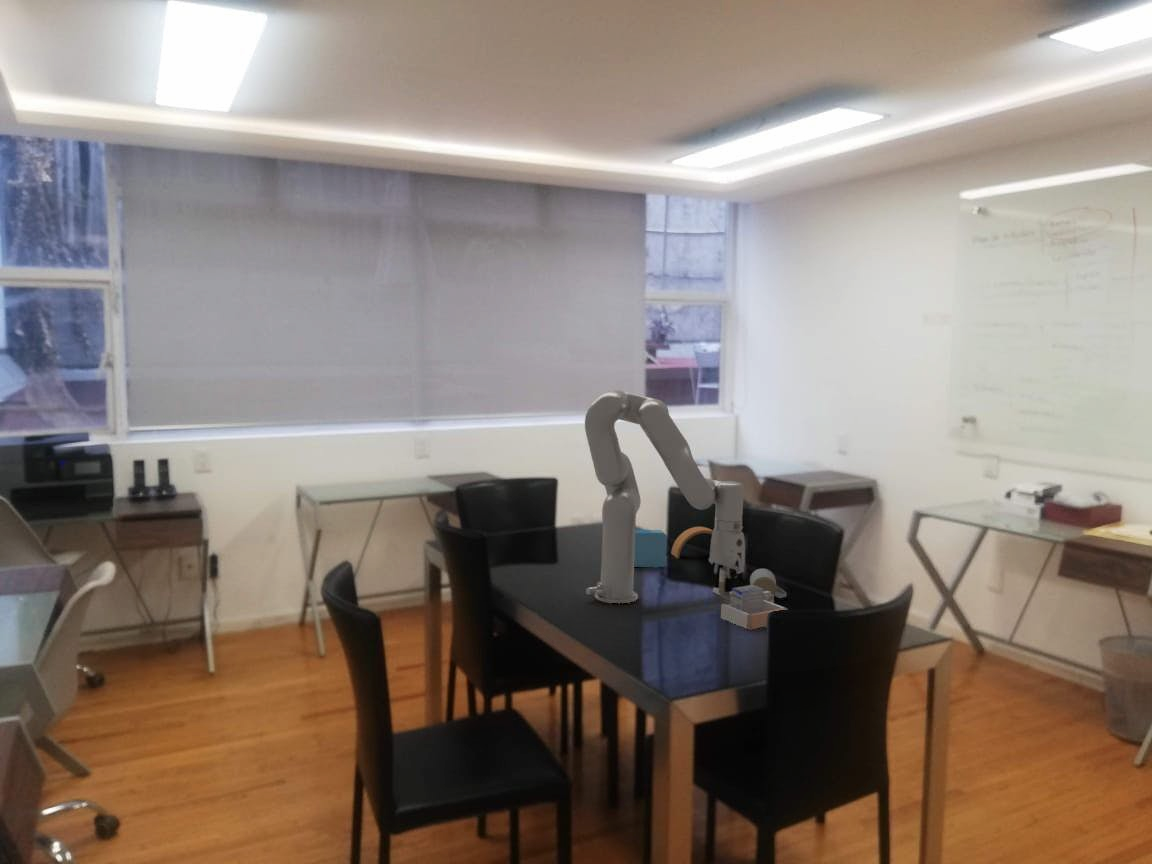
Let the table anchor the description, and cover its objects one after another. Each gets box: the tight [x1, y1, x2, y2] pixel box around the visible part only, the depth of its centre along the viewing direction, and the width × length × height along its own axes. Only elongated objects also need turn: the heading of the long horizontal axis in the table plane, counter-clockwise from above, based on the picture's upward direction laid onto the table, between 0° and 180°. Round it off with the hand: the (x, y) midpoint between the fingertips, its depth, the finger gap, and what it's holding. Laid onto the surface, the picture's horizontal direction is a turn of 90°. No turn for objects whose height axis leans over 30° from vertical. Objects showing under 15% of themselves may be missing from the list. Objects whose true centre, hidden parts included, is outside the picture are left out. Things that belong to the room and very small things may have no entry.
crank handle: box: [718, 567, 775, 606], centre depth 246 cm, size 16×11×11 cm
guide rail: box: [712, 586, 732, 596], centre depth 255 cm, size 2×20×2 cm, turn 33°
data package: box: [634, 529, 668, 568], centre depth 290 cm, size 12×4×12 cm, turn 97°
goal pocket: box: [720, 600, 789, 629], centre depth 237 cm, size 14×11×4 cm
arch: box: [670, 526, 713, 559], centre depth 308 cm, size 6×20×10 cm, turn 103°
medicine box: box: [730, 584, 764, 614], centre depth 239 cm, size 8×4×9 cm, turn 123°
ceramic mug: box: [749, 568, 787, 599], centre depth 261 cm, size 11×8×8 cm
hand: (724, 588), depth 247 cm, fingers closed on crank handle, 3 cm apart
